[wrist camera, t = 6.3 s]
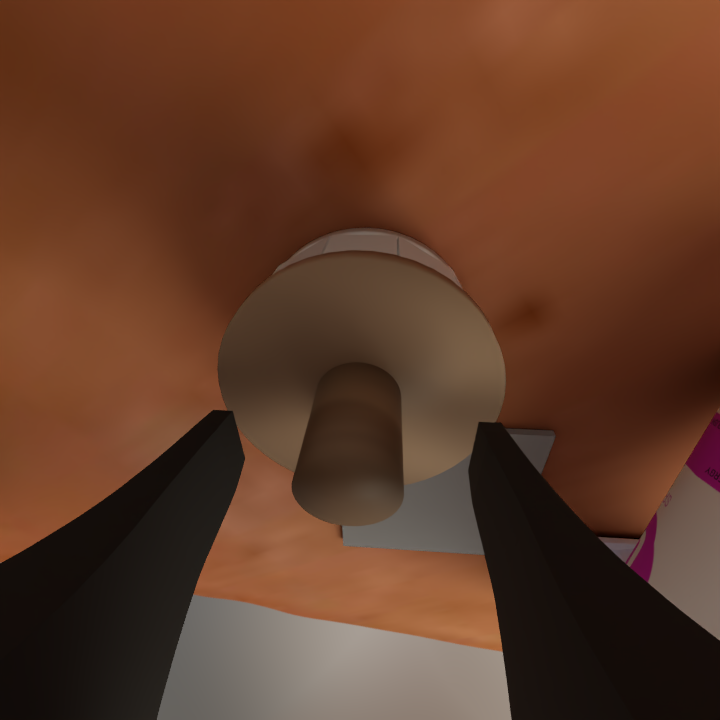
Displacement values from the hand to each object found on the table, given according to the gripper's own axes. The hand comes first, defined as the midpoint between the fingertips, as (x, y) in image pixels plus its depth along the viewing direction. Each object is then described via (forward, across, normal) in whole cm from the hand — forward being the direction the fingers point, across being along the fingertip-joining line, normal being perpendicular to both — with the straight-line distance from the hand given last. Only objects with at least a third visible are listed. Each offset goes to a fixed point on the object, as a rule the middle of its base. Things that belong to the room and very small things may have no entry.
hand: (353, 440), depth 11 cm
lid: (+3, 0, 0) cm, 3 cm away
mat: (+7, -4, +11) cm, 13 cm away
